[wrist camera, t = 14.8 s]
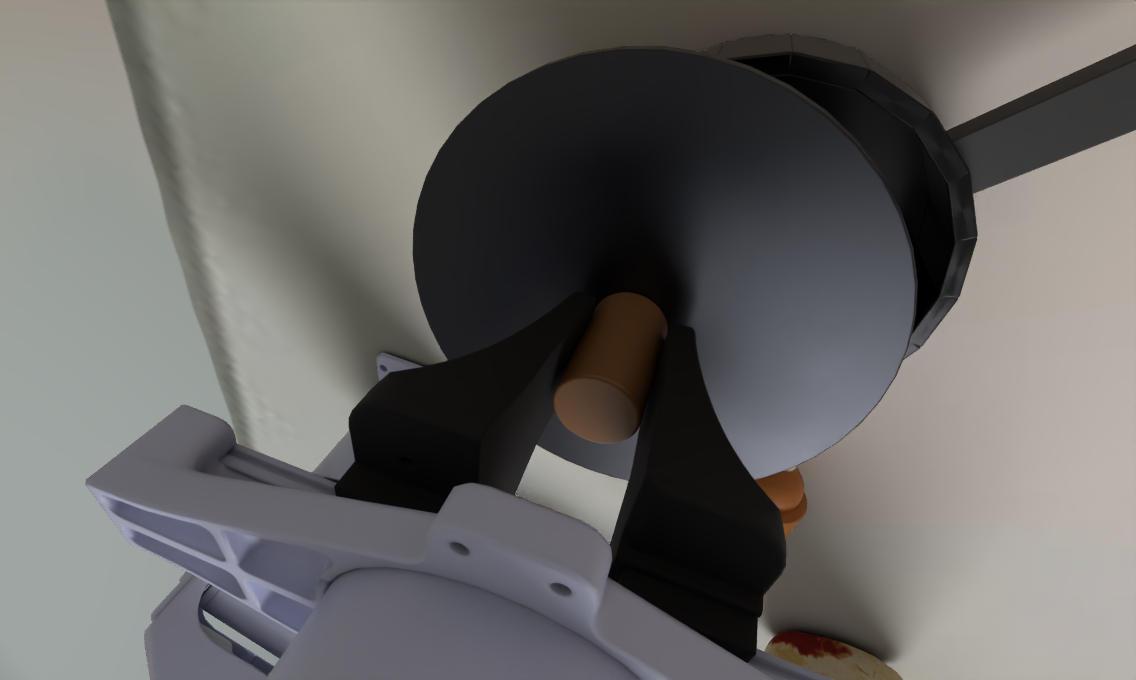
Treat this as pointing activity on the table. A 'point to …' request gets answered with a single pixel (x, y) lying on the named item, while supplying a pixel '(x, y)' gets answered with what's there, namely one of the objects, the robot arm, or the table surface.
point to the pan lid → (672, 248)
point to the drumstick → (786, 496)
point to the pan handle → (1051, 122)
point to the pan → (886, 154)
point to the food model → (829, 657)
